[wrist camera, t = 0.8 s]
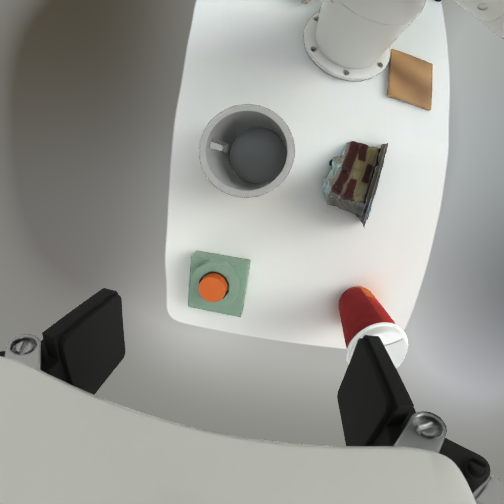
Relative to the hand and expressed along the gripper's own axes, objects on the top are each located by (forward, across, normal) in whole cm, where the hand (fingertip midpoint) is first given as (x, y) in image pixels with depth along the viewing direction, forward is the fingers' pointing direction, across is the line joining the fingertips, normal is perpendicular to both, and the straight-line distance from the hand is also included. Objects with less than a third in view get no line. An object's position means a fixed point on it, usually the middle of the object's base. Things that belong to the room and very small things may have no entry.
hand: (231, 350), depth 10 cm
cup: (+31, +3, -9) cm, 32 cm away
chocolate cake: (+31, -10, -8) cm, 33 cm away
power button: (+27, +6, +9) cm, 29 cm away
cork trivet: (+30, -18, -25) cm, 43 cm away
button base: (+31, +6, +10) cm, 33 cm away
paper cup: (+31, -15, +10) cm, 36 cm away
